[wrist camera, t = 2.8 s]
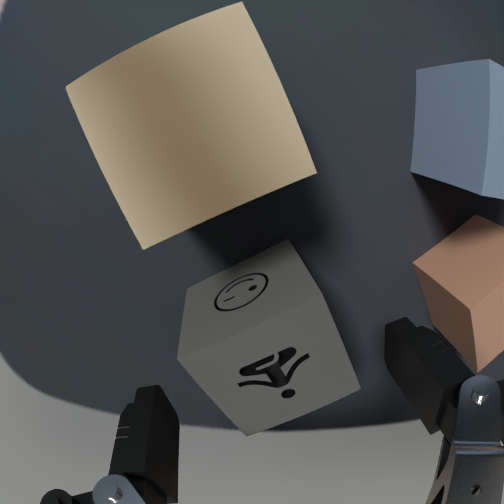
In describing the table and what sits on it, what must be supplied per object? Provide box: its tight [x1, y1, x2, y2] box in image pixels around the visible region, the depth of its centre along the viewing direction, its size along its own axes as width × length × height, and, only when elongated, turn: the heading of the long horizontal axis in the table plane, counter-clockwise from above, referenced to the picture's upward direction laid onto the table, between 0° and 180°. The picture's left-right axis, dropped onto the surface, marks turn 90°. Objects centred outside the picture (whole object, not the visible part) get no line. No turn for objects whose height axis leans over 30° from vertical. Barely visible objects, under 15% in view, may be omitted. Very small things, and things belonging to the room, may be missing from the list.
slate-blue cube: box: [410, 59, 504, 199], centre depth 11 cm, size 5×5×5 cm
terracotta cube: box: [413, 214, 504, 373], centre depth 14 cm, size 5×5×5 cm
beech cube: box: [65, 2, 317, 250], centre depth 10 cm, size 5×5×5 cm
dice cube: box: [177, 239, 361, 436], centre depth 13 cm, size 5×5×5 cm
